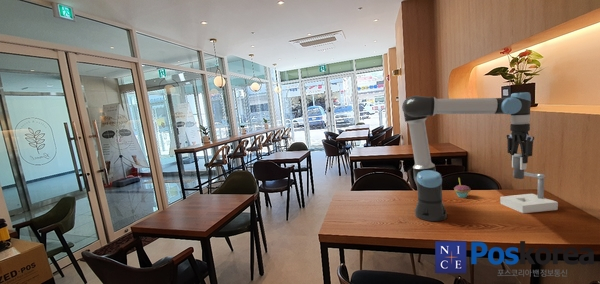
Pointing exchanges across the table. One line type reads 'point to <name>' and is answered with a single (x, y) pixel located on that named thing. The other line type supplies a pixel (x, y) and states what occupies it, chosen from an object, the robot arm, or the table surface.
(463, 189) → the cupcake
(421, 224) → the table surface
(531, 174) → the clip
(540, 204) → the socket block
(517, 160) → the plug
